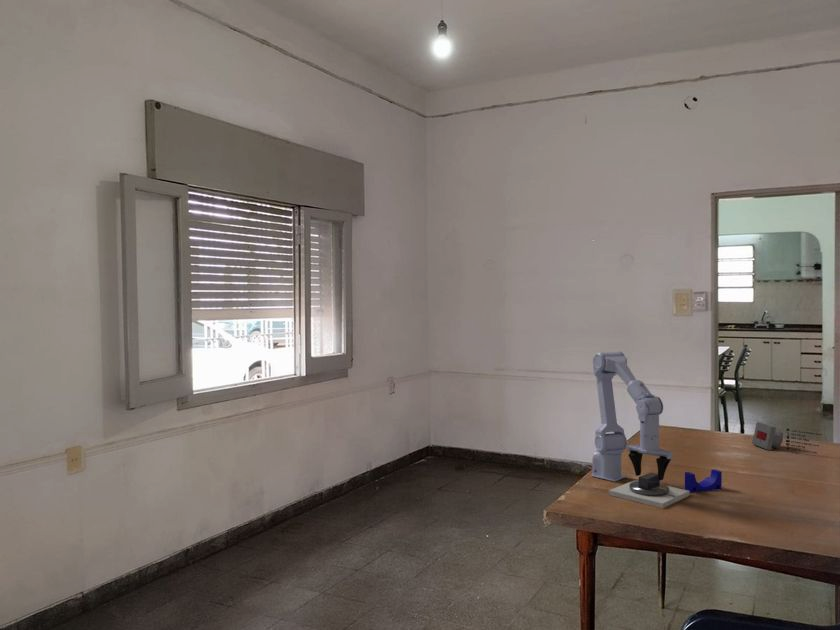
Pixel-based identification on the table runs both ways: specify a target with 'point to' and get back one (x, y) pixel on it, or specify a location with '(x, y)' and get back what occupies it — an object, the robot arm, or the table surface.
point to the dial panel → (652, 500)
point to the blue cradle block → (703, 482)
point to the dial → (649, 485)
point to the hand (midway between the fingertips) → (649, 477)
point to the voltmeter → (773, 437)
